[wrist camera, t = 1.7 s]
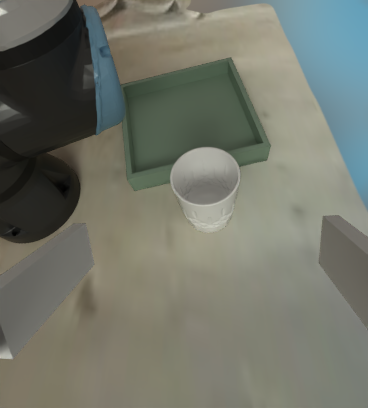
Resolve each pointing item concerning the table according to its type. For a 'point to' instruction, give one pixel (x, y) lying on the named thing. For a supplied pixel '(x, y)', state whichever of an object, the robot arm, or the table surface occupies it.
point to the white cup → (206, 187)
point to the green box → (188, 120)
